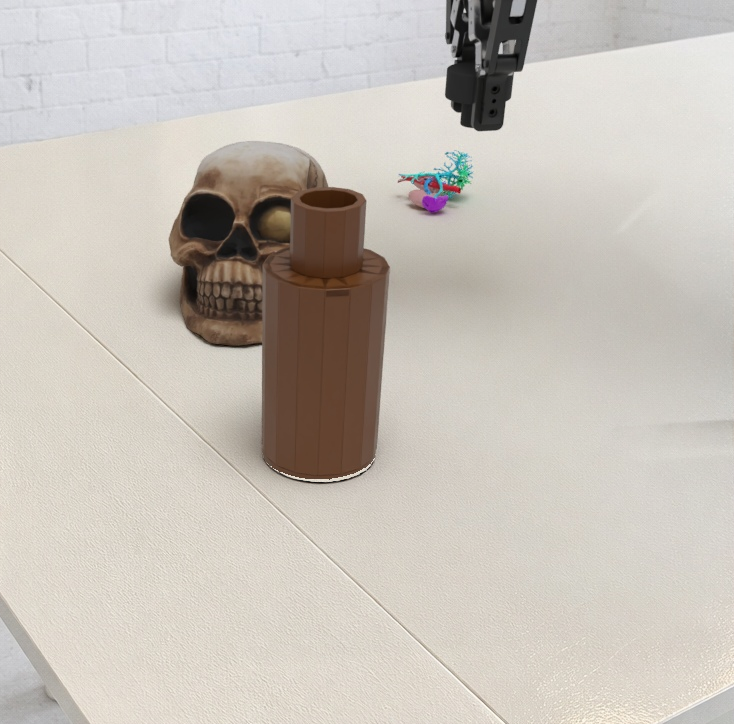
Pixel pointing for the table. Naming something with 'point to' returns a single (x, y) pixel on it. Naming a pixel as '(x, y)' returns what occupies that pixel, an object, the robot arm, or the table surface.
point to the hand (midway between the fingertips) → (475, 118)
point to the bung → (465, 88)
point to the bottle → (323, 339)
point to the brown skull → (236, 234)
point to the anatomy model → (438, 184)
